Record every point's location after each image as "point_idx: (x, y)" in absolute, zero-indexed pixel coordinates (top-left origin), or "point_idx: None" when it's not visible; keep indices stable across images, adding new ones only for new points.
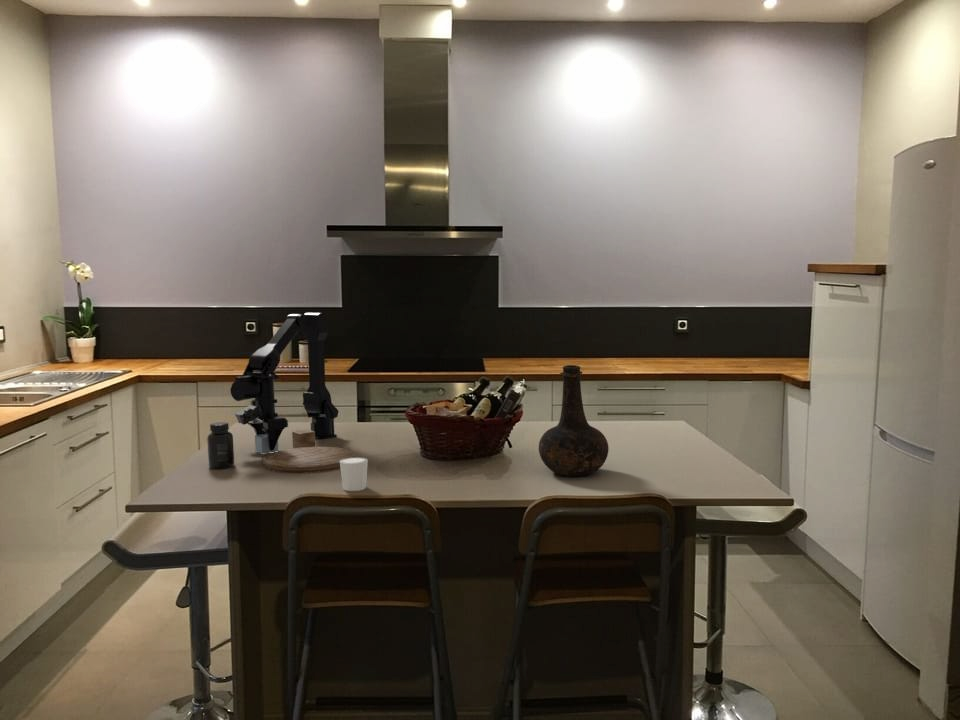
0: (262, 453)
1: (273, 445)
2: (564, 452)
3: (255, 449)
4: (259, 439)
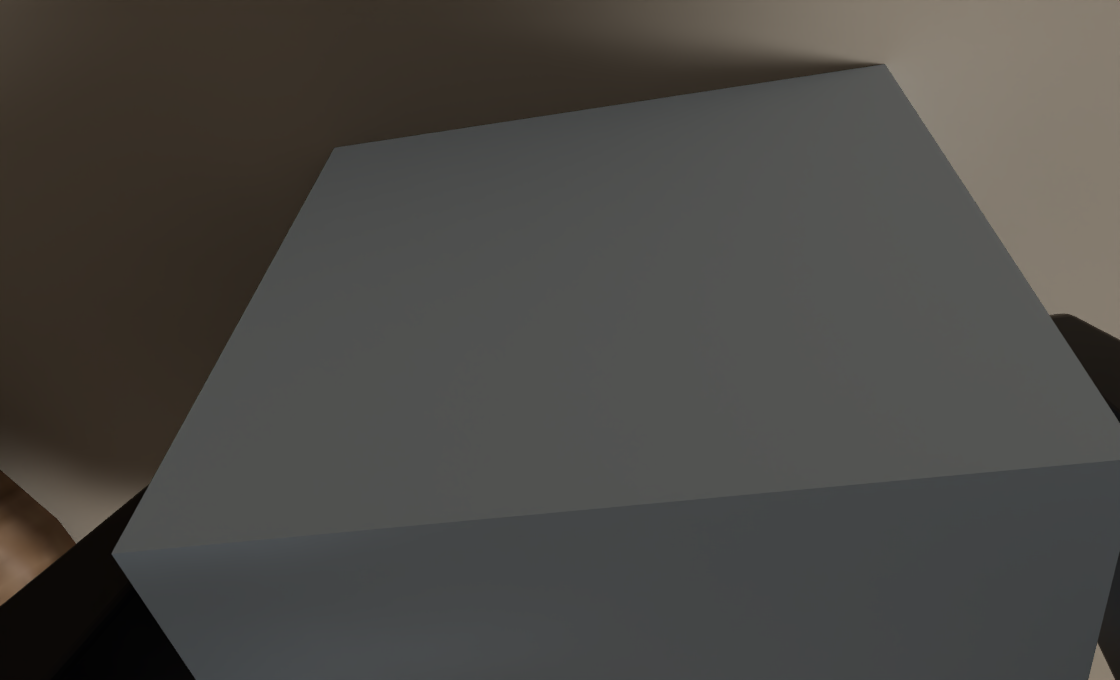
0: (327, 170)
1: None
2: None
3: (893, 96)
4: (412, 434)
